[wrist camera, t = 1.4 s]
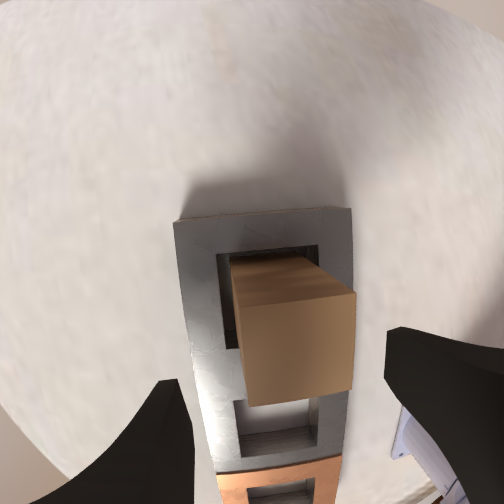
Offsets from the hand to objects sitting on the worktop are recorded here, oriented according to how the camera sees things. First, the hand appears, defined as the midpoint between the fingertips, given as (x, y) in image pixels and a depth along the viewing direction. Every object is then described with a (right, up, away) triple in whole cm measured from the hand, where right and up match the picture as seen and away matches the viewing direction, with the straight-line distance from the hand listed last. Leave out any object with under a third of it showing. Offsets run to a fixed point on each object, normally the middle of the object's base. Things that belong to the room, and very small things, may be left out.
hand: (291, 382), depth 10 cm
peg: (-1, +2, +10) cm, 10 cm away
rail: (0, -7, +11) cm, 13 cm away
